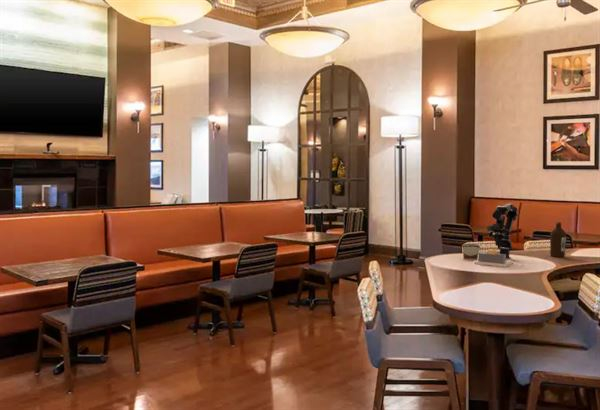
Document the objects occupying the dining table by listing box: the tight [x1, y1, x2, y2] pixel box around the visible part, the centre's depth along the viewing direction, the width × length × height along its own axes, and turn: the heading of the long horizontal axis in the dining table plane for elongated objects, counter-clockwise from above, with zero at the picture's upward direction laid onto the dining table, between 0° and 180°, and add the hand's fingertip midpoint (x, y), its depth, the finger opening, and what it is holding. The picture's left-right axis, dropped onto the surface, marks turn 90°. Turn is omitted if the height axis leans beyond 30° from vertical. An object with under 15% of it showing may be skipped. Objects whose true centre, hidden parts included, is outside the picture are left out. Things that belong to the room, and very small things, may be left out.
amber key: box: [487, 248, 498, 254], centre depth 369 cm, size 5×5×3 cm
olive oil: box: [549, 221, 567, 258], centre depth 406 cm, size 11×11×25 cm
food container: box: [461, 243, 481, 260], centre depth 393 cm, size 12×6×10 cm, turn 84°
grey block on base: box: [474, 251, 514, 268], centre depth 373 cm, size 18×20×7 cm
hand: (496, 245), depth 380 cm, fingers closed
